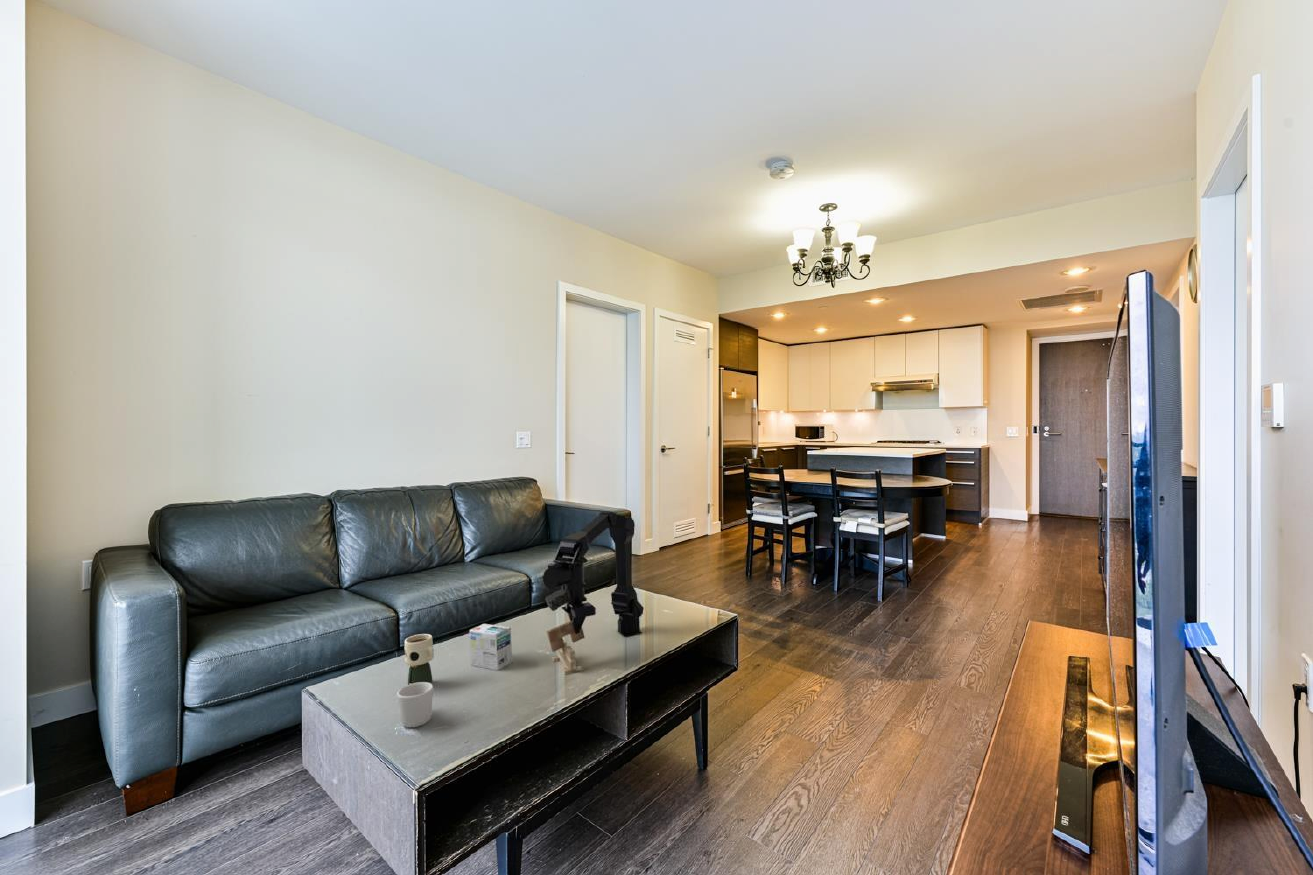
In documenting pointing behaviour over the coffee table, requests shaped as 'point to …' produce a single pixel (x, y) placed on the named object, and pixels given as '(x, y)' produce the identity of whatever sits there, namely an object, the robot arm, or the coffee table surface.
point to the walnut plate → (561, 631)
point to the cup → (415, 703)
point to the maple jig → (567, 659)
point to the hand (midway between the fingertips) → (576, 632)
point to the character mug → (419, 658)
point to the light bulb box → (490, 646)
